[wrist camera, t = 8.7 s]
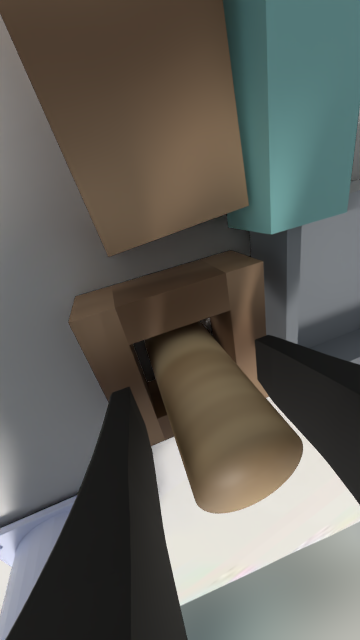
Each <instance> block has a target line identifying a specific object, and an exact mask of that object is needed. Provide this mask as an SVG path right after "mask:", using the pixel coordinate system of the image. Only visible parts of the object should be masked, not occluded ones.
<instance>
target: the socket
mask: <svg viewBox="0 0 360 640" xmlns="http://www.w3.org/2000/svg"><path fill="white" fill-rule="evenodd" d="M209 317H210V320H211V326H212V332H213V337H214V339H215V340H216V341H217V342H218V343H219V344H220V346H221V347H222V348H223V349H224V350H225V351H226V353H227V354H228V355H229V356H230V357H231V358H232V360H233V361H234V362H235V363H236V364H237V365H238V366H239V368H240V369H241V370H242V371H243V372H244V373H245V375H246V376H247V377H248V378H249V379H250V380H251V382H252V383H253V384H254V385H255V386H256V387H257V388H258V390H259V391H260V392H261V393H262V394H263V395H264V397H265V398H267V397H269V395H268V394H267V393H266V391H265V390H264V388H263V387H262V385H261V384H260V382H259V381H258V380H257V367H256V352H255V339H258V338H261V337H263V336H266V317H265V292H264V267H263V261H261V260H258V259H255V258H252V257H249V256H246V255H243V254H240V253H237V252H234V251H231V250H230V251H227V252H223V253H220V254H216V255H213V256H210V257H206V258H203V259H200V260H196V261H193V262H190V263H186V264H183V265H179V266H176V267H173V268H169V269H166V270H163V271H159V272H156V273H153V274H149V275H146V276H142V277H139V278H136V279H132V280H129V281H126V282H122V283H119V284H116V285H112V286H109V287H105V288H102V289H99V290H95V291H92V292H89V293H85V294H82V295H79V296H75V299H74V303H73V307H72V310H71V314H70V318H69V322H68V323H69V325H70V327H71V329H72V331H73V333H74V335H75V337H76V339H77V341H78V343H79V345H80V347H81V349H82V351H83V353H84V355H85V357H86V359H87V361H88V363H89V365H90V367H91V369H92V371H93V373H94V375H95V377H96V379H97V381H98V383H99V385H100V387H101V389H102V391H103V393H104V394H105V396H106V398H107V400H108V402H109V399H110V396H111V394H112V393H113V392H115V391H118V390H121V389H124V388H126V387H130V389H131V391H132V394H133V396H134V399H135V401H136V403H137V406H138V408H139V410H140V413H141V415H142V417H143V420H144V422H145V425H146V428H147V432H148V436H149V440H150V445H151V446H152V445H155V444H157V443H160V442H162V441H164V440H167V439H169V438H172V437H174V434H173V430H172V427H171V424H170V421H169V418H168V415H167V412H166V409H165V406H164V403H163V400H162V396H161V393H160V390H159V387H158V384H157V381H156V379H155V380H152V381H149V382H147V380H146V377H145V375H144V372H143V369H142V367H141V364H140V361H139V359H138V356H137V353H136V350H135V348H134V345H133V343H136V342H139V341H142V340H145V339H148V338H151V337H154V336H157V335H160V334H163V333H165V332H168V331H171V330H174V329H177V328H180V327H183V326H186V325H189V324H192V323H195V322H198V321H200V320H203V319H206V318H209Z"/></svg>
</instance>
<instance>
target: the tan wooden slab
mask: <svg viewBox="0 0 360 640" xmlns="http://www.w3.org/2000/svg"><path fill="white" fill-rule="evenodd" d="M0 14H1V16H2V18H3V21H4V23H5V25H6V27H7V30H8V32H9V34H10V36H11V39H12V41H13V43H14V45H15V48H16V50H17V52H18V54H19V57H20V59H21V61H22V63H23V66H24V68H25V70H26V72H27V75H28V77H29V79H30V81H31V84H32V86H33V88H34V90H35V93H36V95H37V97H38V99H39V102H40V104H41V106H42V108H43V111H44V113H45V115H46V118H47V120H48V122H49V124H50V127H51V129H52V131H53V133H54V136H55V138H56V140H57V142H58V145H59V147H60V149H61V151H62V154H63V156H64V158H65V160H66V163H67V165H68V167H69V169H70V172H71V174H72V176H73V178H74V181H75V183H76V185H77V187H78V190H79V192H80V194H81V196H82V199H83V201H84V203H85V205H86V208H87V210H88V212H89V214H90V217H91V219H92V221H93V223H94V226H95V228H96V230H97V232H98V235H99V237H100V239H101V241H102V244H103V246H104V248H105V250H106V253H107V255H108V257H110V256H113V255H116V254H118V253H121V252H124V251H126V250H129V249H132V248H135V247H137V246H140V245H143V244H146V243H148V242H151V241H154V240H156V239H159V238H162V237H165V236H167V235H170V234H173V233H176V232H178V231H181V230H184V229H186V228H189V227H192V226H195V225H197V224H200V223H203V222H206V221H208V220H211V219H214V218H216V217H219V216H222V215H225V214H227V213H230V212H233V211H235V210H238V209H241V208H244V207H246V206H249V202H248V195H247V187H246V179H245V171H244V163H243V155H242V148H241V140H240V132H239V124H238V116H237V108H236V101H235V93H234V85H233V77H232V69H231V61H230V54H229V46H228V38H227V30H226V22H225V14H224V7H223V0H0Z"/></svg>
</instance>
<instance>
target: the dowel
mask: <svg viewBox="0 0 360 640" xmlns="http://www.w3.org/2000/svg"><path fill="white" fill-rule="evenodd" d="M145 347H146V350H147V353H148V356H149V359H150V363H151V366H152V369H153V372H154V375H155V378H156V381H157V384H158V387H159V390H160V393H161V396H162V400H163V403H164V406H165V409H166V412H167V415H168V418H169V421H170V424H171V427H172V430H173V434H174V437H175V440H176V443H177V446H178V449H179V452H180V455H181V458H182V461H183V464H184V467H185V471H186V474H187V477H188V480H189V483H190V486H191V489H192V492H193V495H194V498H195V501H196V503H197V505H198V506H199V507H200V508H201V509H203V510H204V511H207V512H210V513H229V512H234V511H237V510H241V509H244V508H246V507H249V506H251V505H253V504H255V503H257V502H259V501H261V500H262V499H264V498H266V497H267V496H269V495H270V494H272V493H273V492H274V491H275V490H277V489H278V488H279V487H280V486H281V485H282V484H283V483H284V482H285V481H286V480H287V479H288V478H289V477H290V476H291V475H292V473H293V472H294V471H295V469H296V467H297V466H298V464H299V462H300V460H301V457H302V453H303V444H302V441H301V439H300V437H299V436H298V435H297V434H296V432H295V431H294V430H293V429H292V428H291V427H290V426H289V424H288V423H287V422H286V421H285V420H284V419H283V417H282V416H281V415H280V414H279V413H278V412H277V410H276V409H275V408H274V407H273V406H272V405H271V404H270V402H269V401H268V400H267V399H266V398H265V397H264V395H263V394H262V393H261V392H260V391H259V390H258V388H257V387H256V386H255V385H254V384H253V383H252V382H251V380H250V379H249V378H248V377H247V376H246V375H245V373H244V372H243V371H242V370H241V369H240V368H239V366H238V365H237V364H236V363H235V362H234V361H233V360H232V358H231V357H230V356H229V355H228V354H227V353H226V351H225V350H224V349H223V348H222V347H221V346H220V344H219V343H218V342H217V341H216V340H215V339H214V337H213V336H212V335H211V334H210V333H209V332H208V331H207V329H206V328H205V327H204V326H203V325H202V324H201V322H200V321H198V322H195V323H192V324H189V325H186V326H183V327H180V328H177V329H174V330H171V331H168V332H165V333H163V334H160V335H157V336H154V337H151V338H148V339H145Z"/></svg>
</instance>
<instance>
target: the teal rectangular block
mask: <svg viewBox="0 0 360 640" xmlns="http://www.w3.org/2000/svg"><path fill="white" fill-rule="evenodd" d="M223 7H224V14H225V22H226V30H227V38H228V46H229V54H230V61H231V69H232V77H233V85H234V93H235V101H236V108H237V116H238V124H239V132H240V140H241V148H242V155H243V163H244V171H245V179H246V187H247V195H248V202H249V206H246V207H244V208H241V209H238V210H235V211H233V212H230V213H227V220H228V227H229V228H235V229H241V230H247V231H253V232H259V233H265V234H275V233H278V232H282V231H285V230H288V229H292V228H295V227H299V226H302V225H305V224H309V223H312V222H316V221H319V220H322V219H326V218H329V217H333V216H336V215H339V214H343V213H346V212H347V208H348V200H349V191H350V183H351V175H352V166H353V158H354V150H355V141H356V133H357V125H358V116H359V108H360V0H223Z"/></svg>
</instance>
